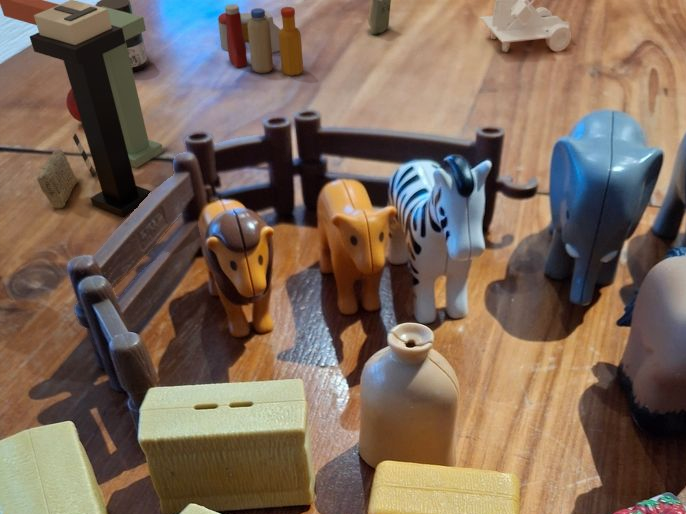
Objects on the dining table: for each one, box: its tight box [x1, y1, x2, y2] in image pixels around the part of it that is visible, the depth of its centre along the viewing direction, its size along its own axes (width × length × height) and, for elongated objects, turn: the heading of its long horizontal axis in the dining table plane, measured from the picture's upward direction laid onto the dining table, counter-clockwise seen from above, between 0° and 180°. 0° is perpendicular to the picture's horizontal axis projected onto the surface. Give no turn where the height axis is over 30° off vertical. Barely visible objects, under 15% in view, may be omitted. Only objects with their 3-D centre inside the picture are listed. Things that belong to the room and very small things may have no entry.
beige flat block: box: [0, 0, 112, 45], centre depth 102 cm, size 17×7×3 cm, turn 57°
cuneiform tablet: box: [36, 133, 96, 210], centre depth 121 cm, size 7×4×12 cm
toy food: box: [217, 4, 304, 77], centre depth 154 cm, size 27×13×12 cm, turn 26°
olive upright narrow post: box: [367, 0, 392, 37], centre depth 164 cm, size 6×5×8 cm
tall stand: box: [29, 25, 152, 219], centre depth 111 cm, size 9×9×26 cm
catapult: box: [479, 0, 572, 53], centre depth 156 cm, size 18×14×16 cm
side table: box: [102, 6, 164, 169], centre depth 123 cm, size 9×9×22 cm
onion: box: [66, 88, 82, 123], centre depth 136 cm, size 6×6×8 cm
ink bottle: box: [95, 0, 149, 73], centre depth 152 cm, size 10×9×12 cm
